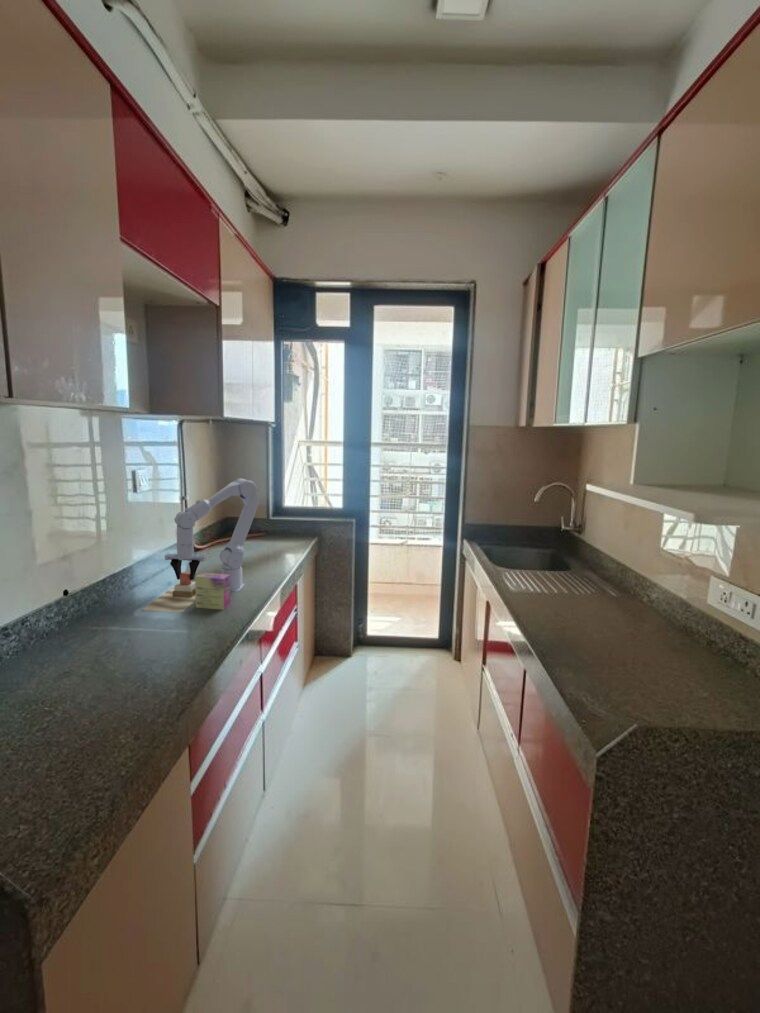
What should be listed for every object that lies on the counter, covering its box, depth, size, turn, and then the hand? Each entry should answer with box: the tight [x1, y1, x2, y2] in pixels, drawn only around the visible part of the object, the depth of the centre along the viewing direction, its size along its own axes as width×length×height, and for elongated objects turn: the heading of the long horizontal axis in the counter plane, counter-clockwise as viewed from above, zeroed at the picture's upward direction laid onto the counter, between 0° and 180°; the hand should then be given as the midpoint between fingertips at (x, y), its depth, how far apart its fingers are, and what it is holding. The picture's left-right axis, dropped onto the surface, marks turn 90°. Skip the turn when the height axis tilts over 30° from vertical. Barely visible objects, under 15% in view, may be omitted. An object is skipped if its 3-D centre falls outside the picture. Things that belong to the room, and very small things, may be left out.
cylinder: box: [179, 571, 192, 585], centre depth 177 cm, size 4×4×4 cm
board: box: [140, 587, 196, 613], centre depth 172 cm, size 24×14×1 cm, turn 0°
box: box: [195, 572, 231, 611], centre depth 166 cm, size 10×6×12 cm, turn 84°
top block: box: [173, 580, 196, 592], centre depth 177 cm, size 6×6×2 cm
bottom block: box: [173, 588, 196, 597], centre depth 177 cm, size 7×7×2 cm
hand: (185, 579), depth 177 cm, fingers open, 4 cm apart
